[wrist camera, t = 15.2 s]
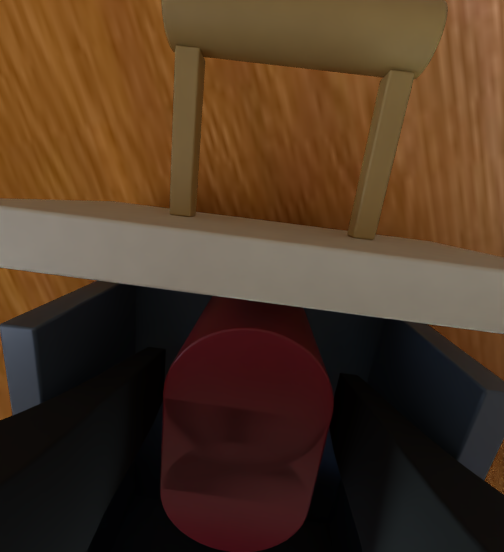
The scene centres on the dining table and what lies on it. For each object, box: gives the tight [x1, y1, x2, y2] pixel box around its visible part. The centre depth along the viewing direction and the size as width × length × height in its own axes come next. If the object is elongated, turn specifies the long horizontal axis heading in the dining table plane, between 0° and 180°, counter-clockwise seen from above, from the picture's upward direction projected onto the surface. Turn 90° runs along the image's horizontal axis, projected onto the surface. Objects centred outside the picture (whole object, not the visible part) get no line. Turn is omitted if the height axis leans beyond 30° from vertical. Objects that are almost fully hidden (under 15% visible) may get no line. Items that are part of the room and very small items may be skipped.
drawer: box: [0, 0, 504, 552], centre depth 9 cm, size 20×12×6 cm, turn 173°
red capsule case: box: [160, 296, 334, 552], centre depth 9 cm, size 4×7×4 cm, turn 173°
